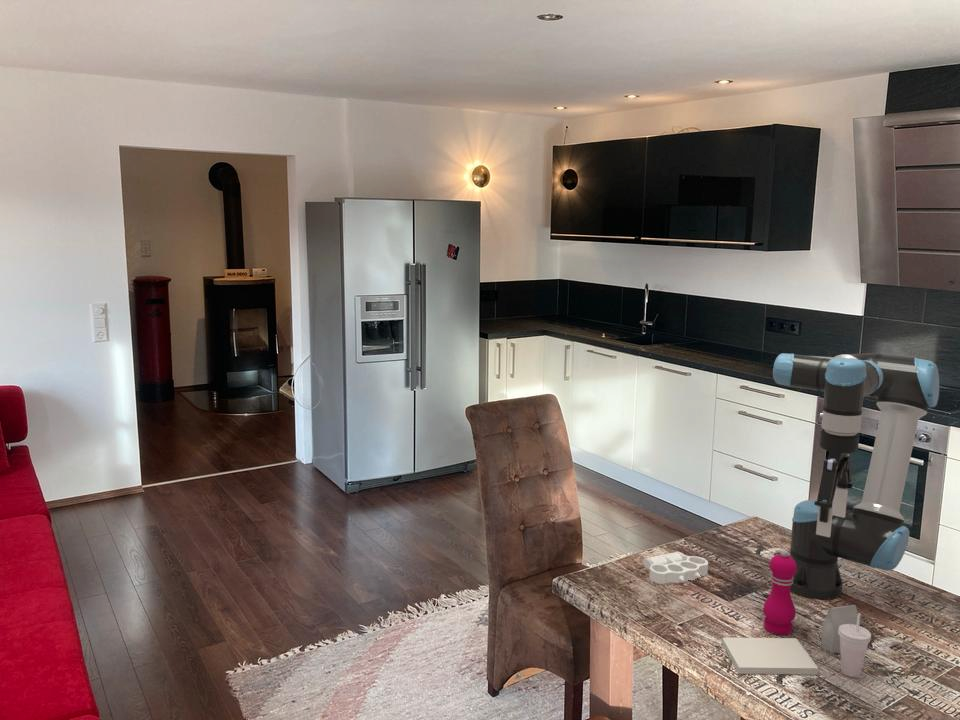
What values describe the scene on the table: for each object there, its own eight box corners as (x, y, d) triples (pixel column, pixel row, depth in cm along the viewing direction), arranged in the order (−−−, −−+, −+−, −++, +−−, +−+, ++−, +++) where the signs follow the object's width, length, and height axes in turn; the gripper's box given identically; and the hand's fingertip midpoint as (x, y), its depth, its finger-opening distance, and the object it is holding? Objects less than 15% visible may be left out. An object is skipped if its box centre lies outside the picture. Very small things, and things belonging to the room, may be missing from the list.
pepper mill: (796, 638, 182) (804, 557, 178) (764, 634, 183) (770, 554, 180) (791, 622, 189) (797, 545, 185) (759, 619, 190) (765, 542, 187)
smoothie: (853, 684, 164) (860, 622, 161) (827, 668, 170) (833, 609, 167) (873, 676, 167) (880, 615, 164) (847, 661, 173) (853, 602, 170)
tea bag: (857, 649, 177) (861, 609, 175) (831, 653, 176) (835, 612, 174) (845, 641, 181) (850, 601, 179) (820, 644, 179) (824, 604, 177)
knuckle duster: (684, 557, 225) (718, 579, 212) (632, 568, 218) (664, 591, 205) (684, 546, 224) (719, 567, 211) (632, 557, 217) (665, 579, 204)
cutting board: (795, 644, 179) (796, 638, 179) (817, 674, 167) (818, 668, 167) (721, 643, 179) (722, 637, 179) (738, 673, 167) (739, 667, 167)
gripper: (835, 416, 178) (826, 504, 182) (805, 441, 158) (797, 539, 162) (871, 422, 173) (861, 512, 177) (845, 448, 154) (835, 548, 158)
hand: (830, 525), depth 170 cm, fingers open, 13 cm apart
